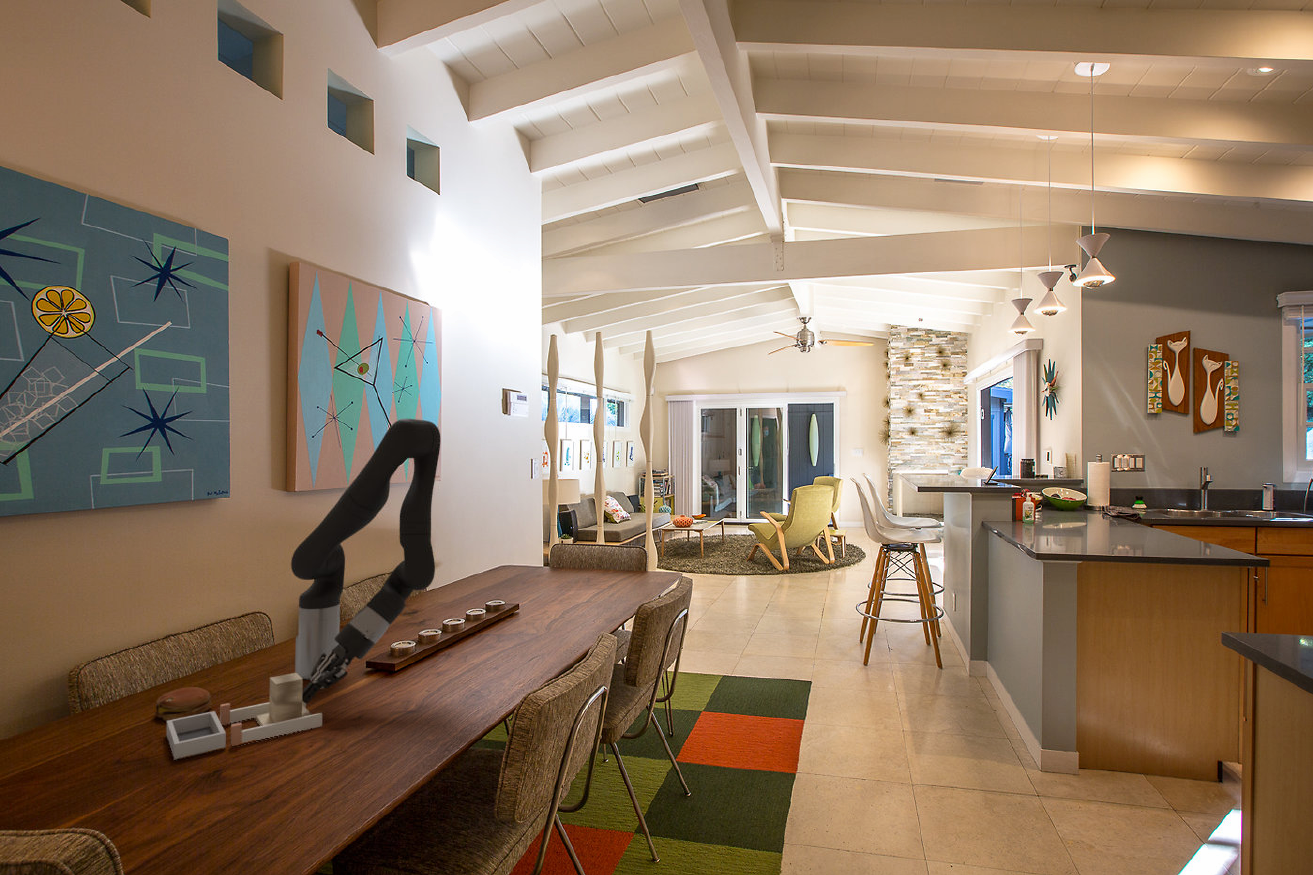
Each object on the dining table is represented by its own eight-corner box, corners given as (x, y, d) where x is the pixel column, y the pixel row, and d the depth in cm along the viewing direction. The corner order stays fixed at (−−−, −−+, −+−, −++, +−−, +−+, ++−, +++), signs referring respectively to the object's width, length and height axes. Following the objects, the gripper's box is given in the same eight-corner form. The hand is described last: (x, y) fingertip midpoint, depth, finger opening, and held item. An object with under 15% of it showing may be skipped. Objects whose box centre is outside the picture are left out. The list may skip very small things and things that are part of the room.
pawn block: (303, 711, 150) (303, 668, 150) (314, 724, 144) (315, 679, 144) (255, 721, 144) (256, 677, 145) (266, 735, 138) (266, 689, 138)
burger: (218, 703, 154) (218, 682, 154) (199, 720, 145) (199, 698, 145) (168, 706, 152) (168, 685, 152) (146, 723, 143) (146, 701, 143)
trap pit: (214, 725, 142) (214, 711, 142) (225, 748, 131) (225, 732, 131) (166, 736, 137) (166, 720, 137) (174, 760, 126) (174, 744, 126)
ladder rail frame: (304, 705, 153) (305, 687, 153) (322, 726, 142) (322, 706, 142) (219, 724, 143) (220, 704, 143) (231, 747, 132) (232, 726, 132)
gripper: (341, 616, 157) (280, 682, 149) (360, 628, 147) (296, 699, 139) (365, 635, 161) (307, 700, 153) (385, 648, 151) (324, 719, 143)
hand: (302, 700), depth 146 cm, fingers closed
